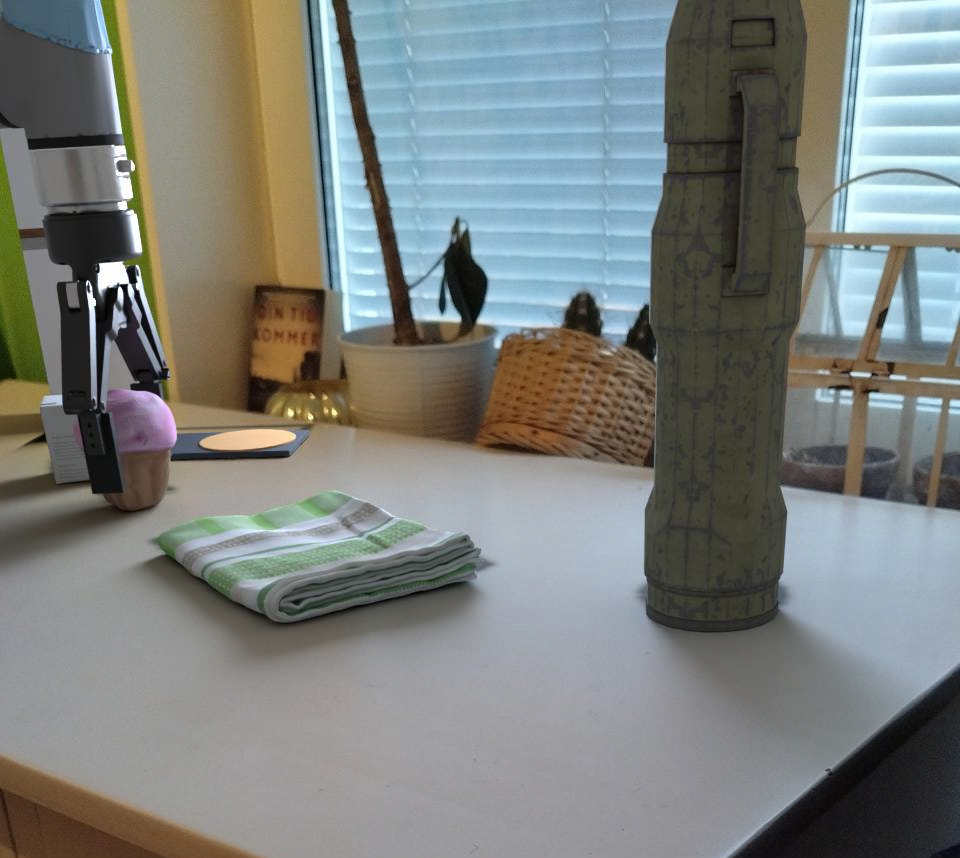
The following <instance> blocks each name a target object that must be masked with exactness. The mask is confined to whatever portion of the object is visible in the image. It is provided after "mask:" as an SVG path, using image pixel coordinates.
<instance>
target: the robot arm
mask: <svg viewBox="0 0 960 858" xmlns="http://www.w3.org/2000/svg"><path fill="white" fill-rule="evenodd" d="M112 54H113V47H112V45H111V43H110V41H109V36H108V30H107V27H106V22H105V17H104V11H103V7H102V2H101V0H0V129H5V128H13V129H16V128H24V130H25V135H26V140H27V143H28V149H29V150H36V149H55V148H71V147H89V146H106V145H115V146H113V147H96V148H79V149H62V150H45V151H29V157H30V162H31V168H32V173H33V179H34V184H35V190H36V195H37V201H38V204H39V205H40V206H42V207H47V212H48V215H44V219H43V220H42V223H43V228H44V233H45V239H46V244H47V249H48V254H49V258H50V260H51V261H52V262H53V263H54V264H57V265H69V266H70V267H71V269H72V281H65V282H57V294H58V301H59V307H60V321H61V369H62V404H63V410H64V413H65V414H66V415H77V417H78V422H79V428H80V433H81V438H82V443H83V448H84V453H85V459H86V464H87V469H88V474H89V479H90V480H89V483H90V490H91V494H92V495H103V494H109V493H124V492H125V491H126V487H125V482H124V476H123V471H122V465H121V460H120V454H119V449H118V443H117V437H116V432H115V426H114V421H113V415H112V411H107V412H106V403H107V390H108V378H109V365H110V352H111V342H112V341H113V340H114V341H115V343H116V345H117V347H118V349H119V351H120V353H121V355H122V357H123V359H124V361H125V363H126V365H127V367H128V369H129V371H130V373H131V375H132V377H133V379H134V381H139V383H132V384H130V388H131V390H132V391H147V392H150V393H153V394H155V395H157V396H158V397H160V398H161V399H162V400H163V401H164V402H165V399H164V392H163V386H162V382H161V381H170V379H171V371H170V368H169V367H168V361H167V359H166V355H165V352H164V350H163V346H162V343H161V340H160V336H159V334H158V330H157V327H156V324H155V320H154V318H153V315H152V312H151V309H150V306H149V303H148V299H147V296H146V293H145V289H144V283H143V279H142V275H141V269H140V267H139V265H138V264H130V265H129V264H128V265H125V264H124V262H128V261H133V260H137V259H139V258H141V256H142V254H143V246H142V241H141V240H142V239H141V235H140V233H141V232H140V227H139V221H138V215H137V213H136V212H134V209H132V208H128V204H127V202H131V201H132V199H134V194H133V188H132V183H131V182H132V181H131V175H130V173H133V172H134V170H135V163H134V162H133V160H132V159H129V158H127V150H126V146H125V139H124V135H123V131H122V122H121V116H120V108H119V102H118V101H119V100H118V96H117V88H116V82H115V76H114V66H113V60H112V59H113V58H112ZM170 452H171V456H172V455H173V453H172V448H171V449H170Z"/></svg>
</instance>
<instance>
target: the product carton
mask: <svg viewBox="0 0 960 858" xmlns="http://www.w3.org/2000/svg"><path fill="white" fill-rule="evenodd" d="M39 412H40V417H41V421H42V422H41V423H42V427H43V430H44V434H45V439H46V444H47V448H48V453H49V457H50V461H51V462H50V463H51V466H52V470H53V475H54V480H55V483H56V484H57V485H60V484H69V483H76V482H86V481H90V479H89V474H88V469H87V464H86V459H85V453H84V452H83V451H82V450H81V449H80V448H79V446H78V444H77V443H76V440H75V436H74V430H73V424H74V422H75V420H76V419H77V415H66V414H65V413H64V410H63V404H62V395H51V394H50V395H44V396H43V398H42V401H41V403H40V405H39Z"/></svg>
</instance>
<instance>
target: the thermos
mask: <svg viewBox="0 0 960 858" xmlns="http://www.w3.org/2000/svg"><path fill="white" fill-rule="evenodd" d="M804 15H805V14H804V12H803V6H802V1H801V0H677V1H676V4H675V8H674V11H673V15H672V18H671V21H670V25H669V28H668V32H667V36H666V40H665V44H664V75H663V76H664V81H663V82H664V83H663V125H662V126H663V128H662V143H663V144H666V145H665V146H666V147H665V148H666V150H665V151H666V152H665V154H666V155H665V172H662V174H661V196H660V199H659V203H658V204H657V205H658V206H657V209H656V212H655V214H654V218H653V222H652V224H651V229H650V243H649V244H650V247H649V248H650V249H649V250H650V251H649V252H650V253H649V262H650V263H649V304H648V305H649V307H648V309H649V310H648V313H649V314H648V323H649V326H650V329H651V331H652V334H653V337H654V340H655V342H656V351H655V352H656V353H655V354H656V355H655V357H656V358H655V397H654V398H655V399H654V400H655V402H654V404H655V405H654V448H653V449H654V452H653V453H654V454H653V456H654V457H653V486H652V489H651V491H650V494H649V496H648V500H647V502H646V504H645V507H644V525H643V526H644V530H643V531H644V532H643V533H644V534H643V574H644V576H645V579H646V597H645V606H644V607H645V614H646V616H648V617H649V618H650V619H651V620H653V621H655V622H657V623H659V624H661V625H663V626H666V627H671V628H676V629H680V630H686V631H695V632H732V631H739V630H747V629H750V628H755V627H758V626H762V625H764V624H766V623H767V622H770V621H771V620H773V619H775V617H776V616H777V614H778V612H779V600H778V599H779V587H780V586H779V584H780V580H781V577H782V575H783V574H784V566H785V553H786V550H785V549H786V539H787V538H786V537H787V526H788V525H787V524H788V523H787V522H788V509H787V505H786V502H785V498H784V495H783V492H782V487H781V481H782V480H781V479H782V464H783V453H784V452H783V448H784V435H785V422H786V421H785V420H786V419H785V418H786V404H787V389H788V375H789V374H788V373H789V359H790V346H791V345H790V344H791V339H792V337H793V334H794V333H795V331H796V328H797V326H798V325H799V321H800V319H801V305H802V292H803V291H802V290H803V289H802V288H803V274H804V261H805V246H806V231H807V224H806V219H805V216H804V210H803V207H802V201H801V198H800V194H799V193H800V192H799V190H798V188H799V172H800V168H799V167H797V166H796V164H797V163H796V161H797V147H798V137H802V126H803V111H804V109H803V108H804V93H805V81H806V80H805V77H806V65H807V49H808V31H807V27H806V21H805V16H804Z"/></svg>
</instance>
